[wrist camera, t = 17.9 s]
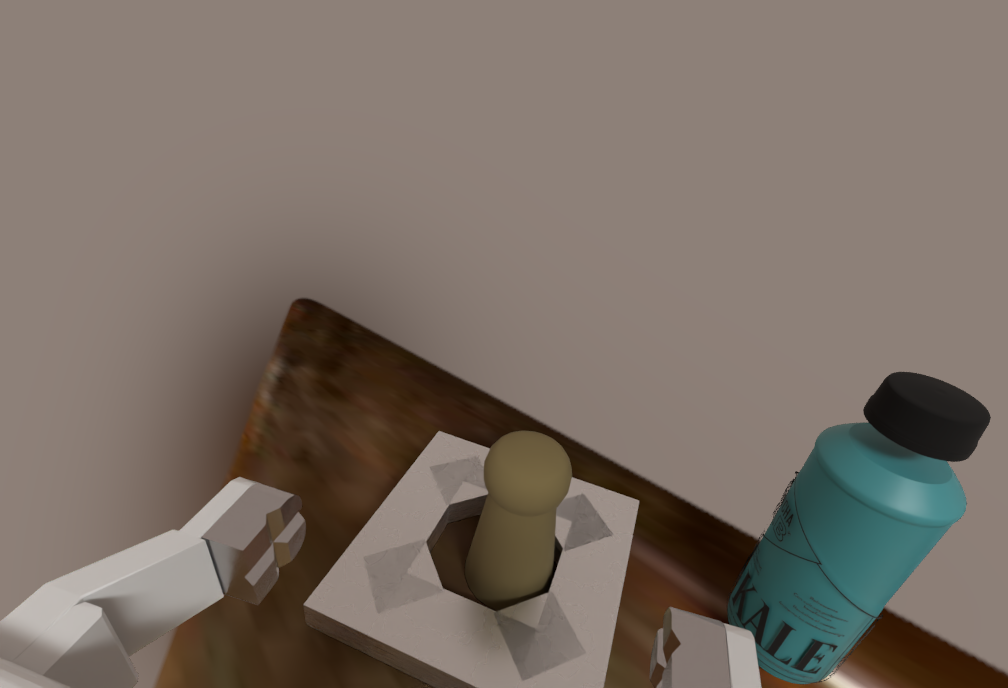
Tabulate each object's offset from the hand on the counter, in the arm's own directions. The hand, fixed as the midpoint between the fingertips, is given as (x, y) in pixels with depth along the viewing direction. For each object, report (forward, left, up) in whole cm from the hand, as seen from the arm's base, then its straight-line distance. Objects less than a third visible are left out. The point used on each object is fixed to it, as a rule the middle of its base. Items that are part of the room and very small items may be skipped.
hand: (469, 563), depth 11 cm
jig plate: (+3, -15, -21) cm, 26 cm away
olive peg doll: (+2, -15, -22) cm, 27 cm away
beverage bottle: (-15, -17, -22) cm, 31 cm away
